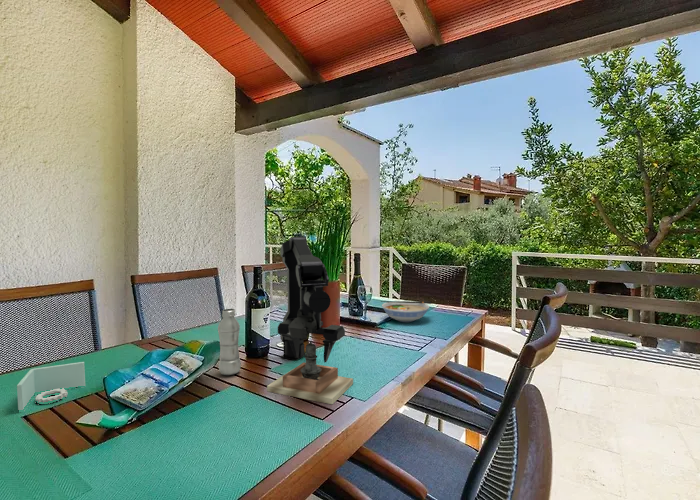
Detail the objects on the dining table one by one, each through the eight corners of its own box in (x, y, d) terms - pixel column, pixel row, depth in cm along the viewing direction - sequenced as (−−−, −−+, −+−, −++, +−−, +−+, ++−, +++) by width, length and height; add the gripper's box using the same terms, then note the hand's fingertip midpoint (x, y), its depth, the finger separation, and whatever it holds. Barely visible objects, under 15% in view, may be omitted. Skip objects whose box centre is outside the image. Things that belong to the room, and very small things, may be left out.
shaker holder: (267, 391, 106) (266, 375, 105) (293, 373, 119) (293, 359, 118) (332, 404, 98) (332, 387, 98) (353, 383, 111) (353, 368, 110)
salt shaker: (318, 387, 105) (317, 344, 104) (297, 385, 106) (297, 342, 105) (323, 378, 110) (323, 338, 110) (304, 377, 112) (304, 336, 111)
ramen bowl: (377, 325, 175) (377, 308, 175) (381, 314, 198) (381, 298, 197) (432, 328, 171) (433, 310, 171) (430, 316, 194) (430, 300, 193)
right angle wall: (18, 415, 93) (16, 385, 93) (32, 395, 104) (30, 369, 104) (78, 404, 99) (76, 376, 98) (85, 387, 110) (84, 361, 109)
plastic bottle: (245, 371, 120) (244, 308, 119) (230, 379, 114) (229, 313, 112) (229, 368, 123) (228, 306, 121) (213, 375, 116) (212, 311, 115)
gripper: (265, 308, 103) (266, 364, 104) (327, 314, 96) (328, 375, 97) (288, 300, 113) (288, 352, 114) (345, 305, 106) (345, 360, 107)
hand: (310, 359), depth 108 cm, fingers open, 9 cm apart
